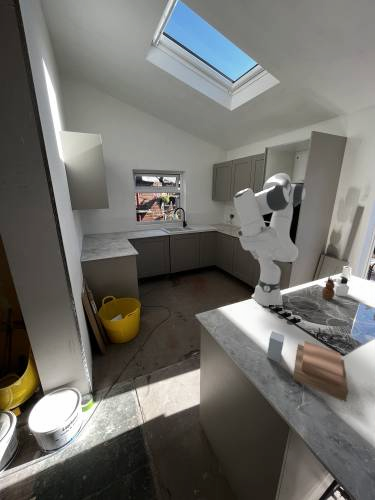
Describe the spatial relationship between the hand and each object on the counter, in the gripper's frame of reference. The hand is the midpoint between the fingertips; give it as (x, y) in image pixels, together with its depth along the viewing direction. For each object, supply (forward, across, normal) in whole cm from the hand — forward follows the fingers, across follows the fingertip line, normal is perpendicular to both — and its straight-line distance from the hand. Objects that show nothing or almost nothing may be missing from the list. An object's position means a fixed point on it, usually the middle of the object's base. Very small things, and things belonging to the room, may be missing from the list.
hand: (265, 259), depth 86 cm
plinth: (+46, -13, +4) cm, 48 cm away
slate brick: (+40, 0, +12) cm, 42 cm away
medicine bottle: (+58, +26, -68) cm, 93 cm away
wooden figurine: (+54, +24, -55) cm, 81 cm away
